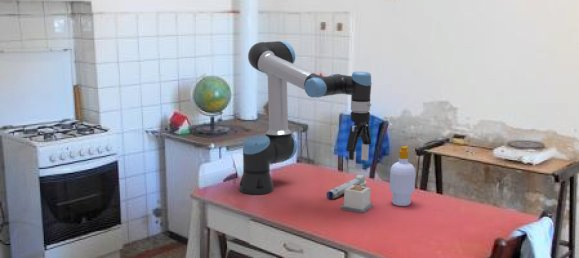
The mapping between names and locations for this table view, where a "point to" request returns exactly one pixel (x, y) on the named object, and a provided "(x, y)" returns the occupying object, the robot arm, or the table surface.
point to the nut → (357, 197)
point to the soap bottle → (402, 179)
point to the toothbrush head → (340, 189)
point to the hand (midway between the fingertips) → (358, 163)
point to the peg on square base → (357, 188)
